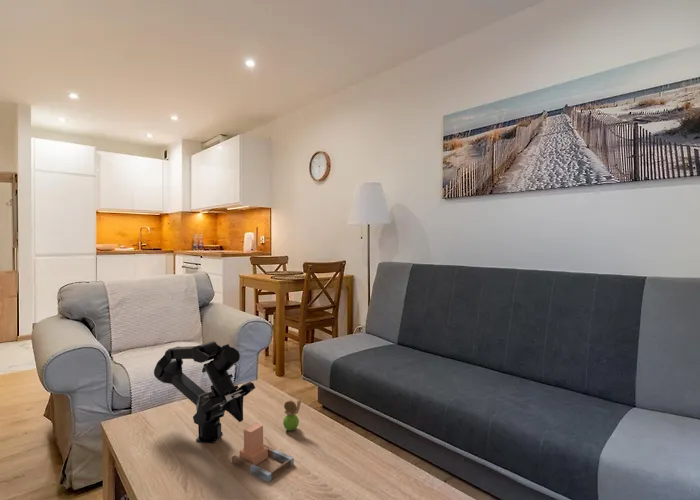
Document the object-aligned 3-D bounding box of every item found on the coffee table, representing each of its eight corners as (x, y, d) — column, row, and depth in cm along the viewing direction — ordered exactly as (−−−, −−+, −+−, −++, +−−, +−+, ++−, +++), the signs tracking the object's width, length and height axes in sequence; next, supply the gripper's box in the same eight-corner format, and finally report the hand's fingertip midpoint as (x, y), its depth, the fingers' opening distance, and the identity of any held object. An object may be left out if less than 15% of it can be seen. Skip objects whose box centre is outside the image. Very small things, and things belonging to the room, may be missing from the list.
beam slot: (231, 463, 122) (231, 456, 122) (257, 447, 130) (257, 441, 130) (268, 482, 113) (268, 475, 113) (293, 464, 122) (293, 457, 121)
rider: (239, 460, 123) (239, 428, 123) (254, 451, 128) (254, 420, 127) (253, 467, 120) (252, 434, 119) (267, 457, 125) (267, 426, 124)
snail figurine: (298, 434, 139) (298, 400, 138) (280, 432, 140) (280, 398, 139) (303, 426, 144) (303, 394, 143) (286, 424, 145) (286, 392, 144)
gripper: (226, 381, 143) (246, 422, 138) (182, 398, 127) (203, 444, 122) (245, 365, 139) (266, 406, 134) (202, 380, 122) (225, 428, 118)
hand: (241, 421), depth 127 cm, fingers closed
